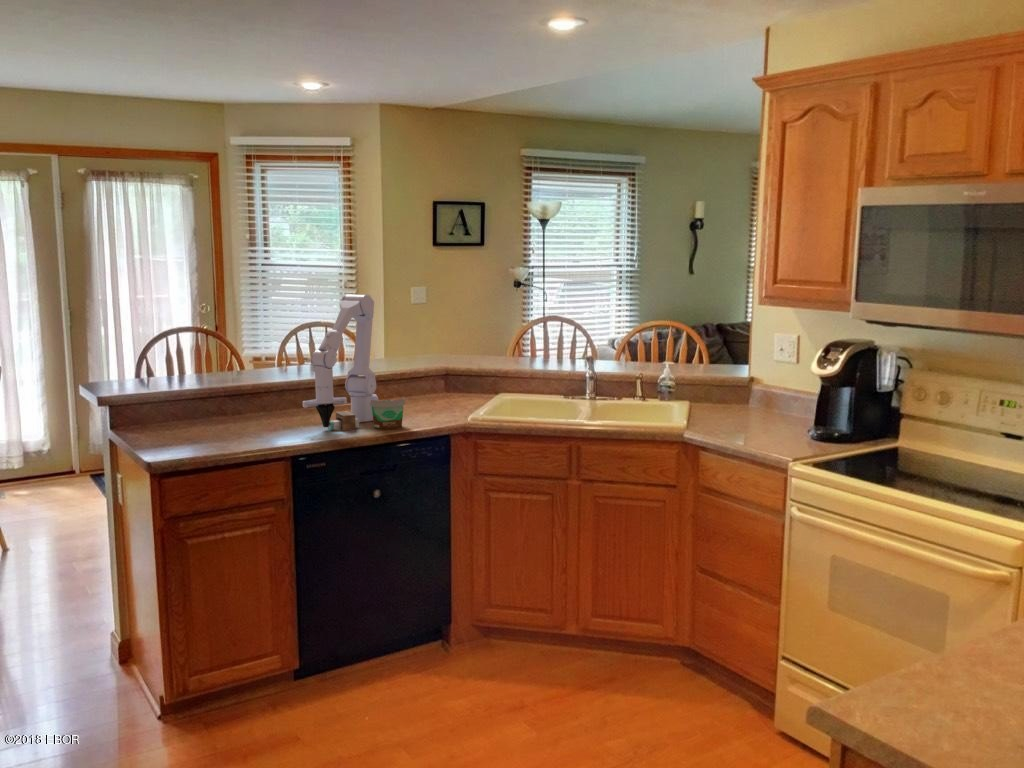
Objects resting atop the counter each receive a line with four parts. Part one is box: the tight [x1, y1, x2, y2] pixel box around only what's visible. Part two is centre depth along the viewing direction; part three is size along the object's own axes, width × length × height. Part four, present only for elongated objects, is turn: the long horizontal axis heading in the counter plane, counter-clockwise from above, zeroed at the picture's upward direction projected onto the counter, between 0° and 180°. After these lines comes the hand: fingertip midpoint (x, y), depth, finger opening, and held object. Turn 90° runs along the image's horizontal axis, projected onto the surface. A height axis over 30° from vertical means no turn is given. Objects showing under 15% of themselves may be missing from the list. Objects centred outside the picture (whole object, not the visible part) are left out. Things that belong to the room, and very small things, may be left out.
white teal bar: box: [327, 418, 360, 432], centre depth 291 cm, size 10×3×3 cm, turn 120°
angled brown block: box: [335, 410, 356, 432], centre depth 291 cm, size 4×8×5 cm, turn 31°
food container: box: [370, 396, 407, 431], centre depth 290 cm, size 12×6×10 cm, turn 117°
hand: (325, 426), depth 288 cm, fingers closed
